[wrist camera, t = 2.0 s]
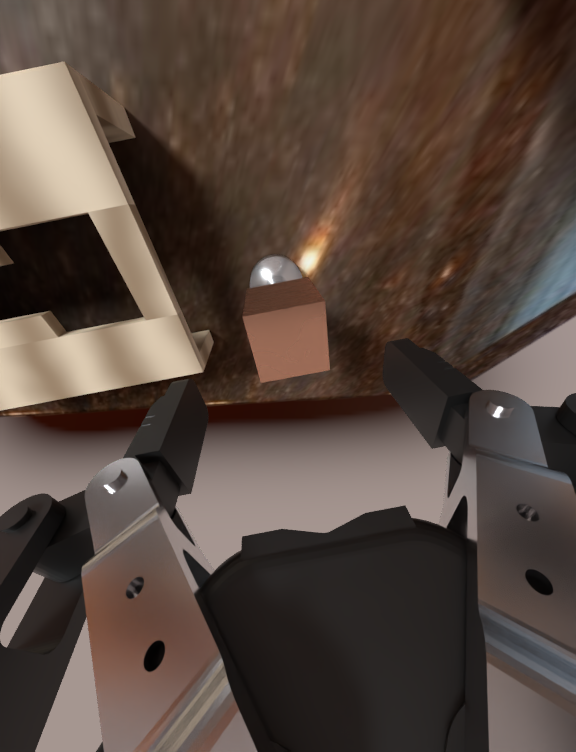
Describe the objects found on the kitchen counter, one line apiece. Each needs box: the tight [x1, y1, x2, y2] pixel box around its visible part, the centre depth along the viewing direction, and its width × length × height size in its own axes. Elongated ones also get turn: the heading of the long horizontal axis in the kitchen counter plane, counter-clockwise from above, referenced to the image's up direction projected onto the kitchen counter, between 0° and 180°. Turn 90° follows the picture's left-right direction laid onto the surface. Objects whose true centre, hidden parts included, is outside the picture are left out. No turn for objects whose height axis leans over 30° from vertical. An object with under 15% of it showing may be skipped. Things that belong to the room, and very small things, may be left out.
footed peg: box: [242, 254, 330, 383], centre depth 18 cm, size 5×5×14 cm
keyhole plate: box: [0, 62, 214, 410], centre depth 19 cm, size 24×18×6 cm
